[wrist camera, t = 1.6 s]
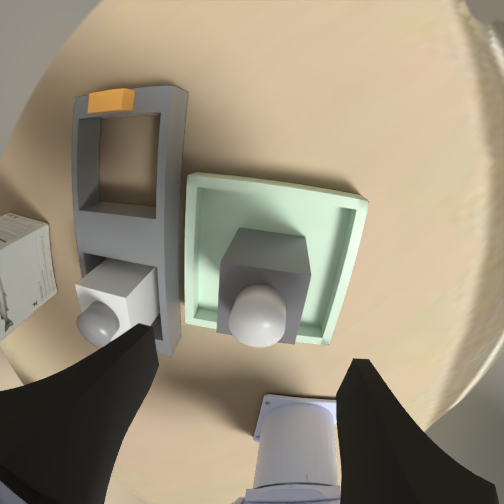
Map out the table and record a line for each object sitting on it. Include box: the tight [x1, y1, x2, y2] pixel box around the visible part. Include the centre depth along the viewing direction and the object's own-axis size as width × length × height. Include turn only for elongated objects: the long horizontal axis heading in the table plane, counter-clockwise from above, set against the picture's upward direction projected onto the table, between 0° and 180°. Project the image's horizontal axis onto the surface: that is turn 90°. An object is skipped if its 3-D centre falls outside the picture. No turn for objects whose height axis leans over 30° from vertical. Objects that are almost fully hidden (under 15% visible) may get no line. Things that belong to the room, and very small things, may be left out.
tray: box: [184, 172, 369, 345], centre depth 17 cm, size 10×10×2 cm
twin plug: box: [75, 258, 160, 347], centre depth 17 cm, size 4×4×6 cm
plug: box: [216, 227, 311, 347], centre depth 14 cm, size 4×4×6 cm
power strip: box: [72, 85, 188, 357], centre depth 16 cm, size 18×7×4 cm, turn 174°
